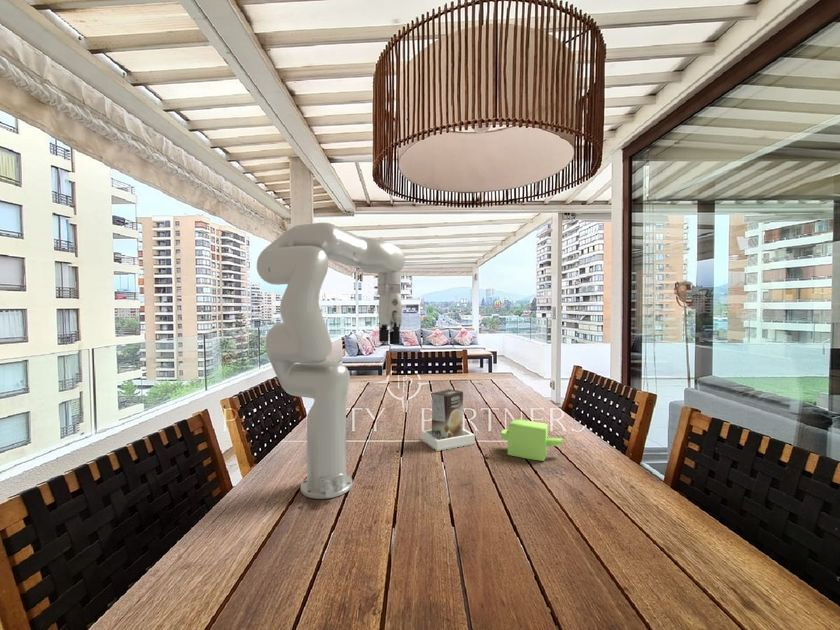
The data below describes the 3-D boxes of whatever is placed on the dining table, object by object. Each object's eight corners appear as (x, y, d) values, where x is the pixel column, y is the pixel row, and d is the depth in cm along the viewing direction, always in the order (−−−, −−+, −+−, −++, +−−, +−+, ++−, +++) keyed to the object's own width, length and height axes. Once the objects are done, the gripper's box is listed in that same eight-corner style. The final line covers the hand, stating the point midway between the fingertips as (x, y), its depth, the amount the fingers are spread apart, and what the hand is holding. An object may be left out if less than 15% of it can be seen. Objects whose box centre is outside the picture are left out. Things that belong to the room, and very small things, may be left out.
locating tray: (474, 444, 125) (474, 434, 125) (437, 451, 119) (437, 441, 119) (457, 434, 135) (457, 425, 135) (421, 440, 129) (421, 430, 129)
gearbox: (563, 454, 119) (564, 423, 119) (560, 465, 110) (561, 431, 110) (504, 444, 126) (505, 415, 126) (497, 453, 117) (499, 422, 117)
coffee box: (446, 446, 122) (446, 396, 121) (431, 441, 126) (431, 393, 125) (463, 438, 129) (463, 391, 128) (448, 434, 133) (448, 388, 132)
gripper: (410, 289, 119) (410, 344, 120) (390, 291, 135) (390, 340, 135) (387, 289, 116) (387, 345, 116) (369, 291, 132) (369, 341, 132)
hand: (389, 342), depth 126 cm, fingers open, 9 cm apart
